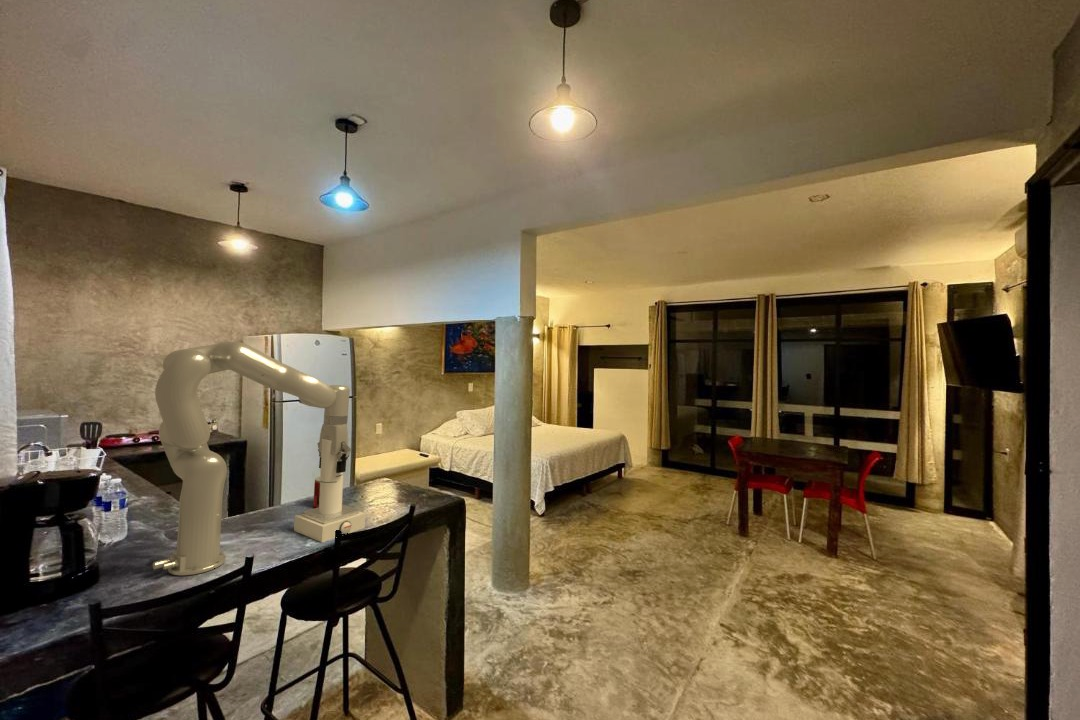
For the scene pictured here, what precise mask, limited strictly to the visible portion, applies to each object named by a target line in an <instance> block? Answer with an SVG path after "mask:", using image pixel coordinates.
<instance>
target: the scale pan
mask: <svg viewBox="0 0 1080 720" xmlns="http://www.w3.org/2000/svg"><path fill="white" fill-rule="evenodd" d="M359 512H360V509H358V508H355V507H352V506H348V505H345V504H343V503H342V511H340V512H338V513H335V514H328V515H325V514H320V513H319V507H318V508H315V507H314V508H312V509H308V510H305V511H301V514H302V516H305V517H307V518H310V519H313V520H315V521H318V522H321V523H323V524H326V523H329V522H333V521H336V520H339V519H342V518H346V517H349V516H352V515H356V514H359Z"/></svg>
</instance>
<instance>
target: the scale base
mask: <svg viewBox="0 0 1080 720" xmlns="http://www.w3.org/2000/svg"><path fill="white" fill-rule="evenodd" d="M366 515H367V514H366V512H365V513H364V512H362V511H359V514H356V515H352V516H349V517H346V518H342V519H339V520H336V521H333V522H329V523H326V524H323V523H321V522H318V521H315V520H313V519H310V518H307V517H305V516H302V513H301V514H298V515H295V516H294V523H293V525H294V526H293V531H294V532H296V533H299V534H301V535H303V536H305V537H308V538H310V539H313V540H315V541H317V542H320V543H324V542H329V541H330V540H333V539H335V531H336V530H340V531H341V532H342V533H343V534H345V535H347V533H348V534H351V533H354V532H357V531H360V530H362V529H365V528H366Z"/></svg>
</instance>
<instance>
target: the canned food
mask: <svg viewBox="0 0 1080 720" xmlns="http://www.w3.org/2000/svg"><path fill="white" fill-rule="evenodd" d="M313 485H314V488H313V507H314V508H315V507H316V508H318V507H319V498H320V476H319V477H316V478H315V479H314V484H313Z"/></svg>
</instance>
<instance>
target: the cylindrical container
mask: <svg viewBox="0 0 1080 720" xmlns="http://www.w3.org/2000/svg"><path fill="white" fill-rule="evenodd" d="M331 442H332V441H330V440H326V439H322V450H321V468H320V476H319V477H320V498H319V513H320V514H325V515H328V514H335V513H338V512H340V511H342V504H343V488H344V472H342V473H336V467H337V461H338V458H337V456H336V455H331V454H330V452H331ZM339 452H342V447H341V449H340V451H339ZM340 456H342V455H340Z"/></svg>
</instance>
